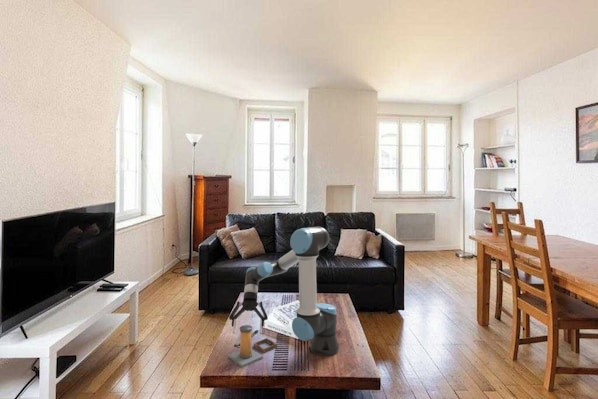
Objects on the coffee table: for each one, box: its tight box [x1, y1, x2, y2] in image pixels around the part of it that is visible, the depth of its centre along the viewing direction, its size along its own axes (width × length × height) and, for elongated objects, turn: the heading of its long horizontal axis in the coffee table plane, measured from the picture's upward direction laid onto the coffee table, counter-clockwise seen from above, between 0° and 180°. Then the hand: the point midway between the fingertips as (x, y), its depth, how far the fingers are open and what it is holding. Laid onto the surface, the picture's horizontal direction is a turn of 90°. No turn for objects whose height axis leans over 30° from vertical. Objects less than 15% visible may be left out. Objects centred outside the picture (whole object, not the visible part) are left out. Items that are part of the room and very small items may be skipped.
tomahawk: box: [233, 329, 259, 349], centre depth 179 cm, size 21×7×1 cm, turn 153°
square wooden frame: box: [253, 337, 278, 353], centre depth 171 cm, size 9×9×2 cm
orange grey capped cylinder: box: [239, 324, 253, 359], centre depth 160 cm, size 6×6×14 cm
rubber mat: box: [228, 348, 264, 368], centre depth 160 cm, size 12×12×1 cm
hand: (247, 332), depth 167 cm, fingers open, 13 cm apart
